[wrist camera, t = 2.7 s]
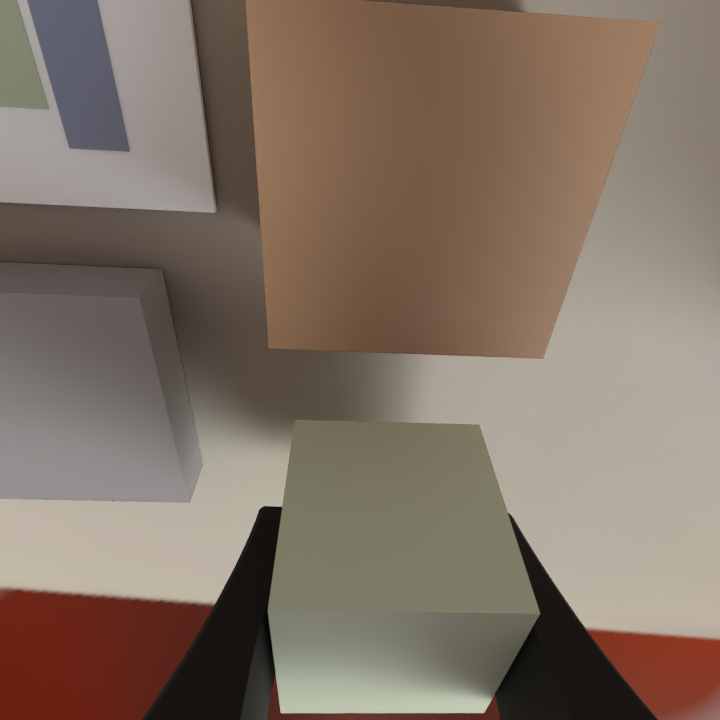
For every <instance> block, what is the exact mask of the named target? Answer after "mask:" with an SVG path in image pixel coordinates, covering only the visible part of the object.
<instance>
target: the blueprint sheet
mask: <svg viewBox="0 0 720 720" xmlns="http://www.w3.org/2000/svg"><path fill="white" fill-rule="evenodd" d="M0 202H6V203H26V204H46V205H67V206H87V207H107V208H128V209H148V210H168V211H189V212H209V213H215V212H216V211H217V209H216V201H215V193H214V185H213V177H212V169H211V161H210V153H209V145H208V136H207V128H206V120H205V112H204V104H203V96H202V88H201V80H200V72H199V64H198V56H197V48H196V40H195V32H194V23H193V15H192V7H191V0H0Z"/></svg>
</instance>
